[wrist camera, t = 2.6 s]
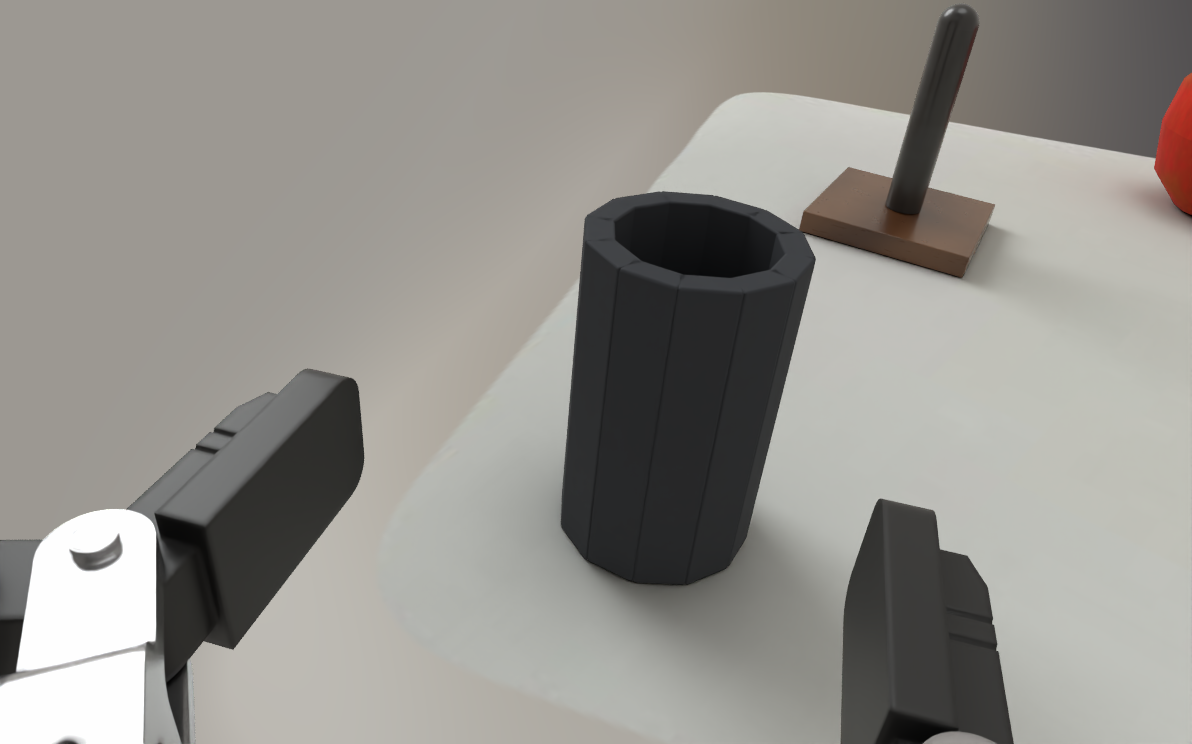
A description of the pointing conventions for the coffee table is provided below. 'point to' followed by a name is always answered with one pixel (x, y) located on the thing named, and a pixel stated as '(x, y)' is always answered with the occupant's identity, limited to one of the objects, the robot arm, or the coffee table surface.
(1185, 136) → the apple
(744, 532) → the sleeve
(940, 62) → the stand
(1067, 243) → the coffee table surface
